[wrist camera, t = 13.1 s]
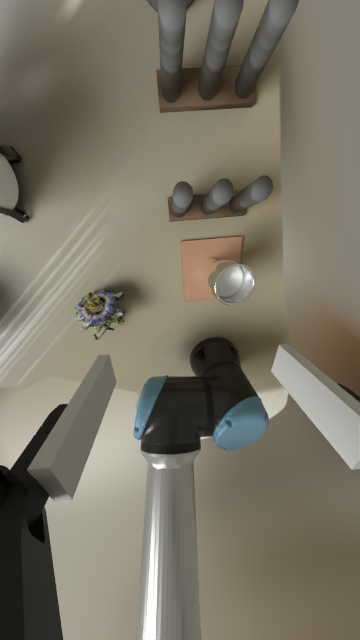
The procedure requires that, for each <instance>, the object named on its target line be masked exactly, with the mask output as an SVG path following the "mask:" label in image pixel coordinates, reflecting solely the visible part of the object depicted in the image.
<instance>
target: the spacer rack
mask: <svg viewBox="0 0 360 640" xmlns="http://www.w3.org/2000/svg"><path fill="white" fill-rule="evenodd" d="M243 1H244V0H215V2H214V7H213V12H212V17H211V23H210V28H209V33H208V38H207V43H206V49H205V54H204V59H203V64H202V68H182V59H183V47H184V35H185V22H186V10H187V0H158V17H159V42H160V67H161V70H157V83H158V94H159V105H160V113H161V112H178V111H195V110H212V109H229V108H247V107H252V106H253V104H254V103H255V92H256V82H257V80H258V79H259V77H260V75H261V73H262V71H263V69H264V68H265V66H266V64H267V62H268V60H269V58H270V57H271V55H272V53H273V51H274V49H275V47H276V46H277V44H278V42H279V40H280V38H281V36H282V35H283V33H284V31H285V29H286V27H287V25H288V23H289V22H290V20H291V18H292V16H293V14H294V12H295V10H296V8H297V5H298V1H299V0H269V1H268V3H267V6H266V8H265V11H264V13H263V16H262V18H261V20H260V23H259V25H258V28H257V30H256V32H255V35H254V37H253V40H252V42H251V45H250V47H249V49H248V52H247V54H246V57H245V59H244V62H243V64H242V66H224V65H225V62H226V59H227V56H228V52H229V49H230V46H231V43H232V40H233V37H234V33H235V30H236V27H237V24H238V21H239V18H240V14H241V11H242V8H243ZM272 188H273V183H272V180H271V178H270V177H268V176H261V177H259V178H258V179H257V180H255V181H254V182H253V183H251V184H250V185H249V186H247V187H246V188H244V189H243V190H242V191H240V192H233V185H232V183H231V182H230V181H229V180H228V179H220V180H219V181H218V182H217V183H216V184H215V185H214V187H213V188H212V189H211V190H210V192H209V193H208V194H206V195H193V190H192V187H191V186H190V185H189V184H188V183H187V182H183V181H182V182H179V183H177V184H176V186H175V187H174V190H173V196H172V197H168V206H169V217H170V222H171V221H184V220H196V219H209V218H221V217H234V216H244V215H245V209H246V208H248V207H250V206H253V205H255V204H257V203H259V202H261V201H263V200H265V199H267V198H268V197H269V196H270V194H271V192H272Z"/></svg>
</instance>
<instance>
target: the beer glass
mask: <svg viewBox="0 0 360 640" xmlns="http://www.w3.org/2000/svg"><path fill="white" fill-rule="evenodd" d="M199 275H200V278H201V280H202V281H203V282H204V283H206V285H207V288H208V290H209V291H210V292H211V294H212V295H213V296H214V297H216V298H217V299H218V300H220V301H221V302H222V303H224V304H227V305H237V304H240V303H242V302H244V301H245V300H246V299H248V298H249V296H250V295H251V294H252V292H253V290H254V287H255V275H254V273H253V271H252V270H251V269H250V268H249V267H248V266H246V265H243V264H241V263H239V262H236V261H233V260H218V259H215V258H211V259H207V260H206V261H204V262H203V263H202V265H201V267H200V270H199Z"/></svg>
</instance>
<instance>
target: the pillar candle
mask: <svg viewBox="0 0 360 640" xmlns="http://www.w3.org/2000/svg"><path fill="white" fill-rule="evenodd" d="M147 1H148V2H149V4H150V5H151V6H152V7H153V8H154V9H155V10H156V11H157V12H158V0H147ZM192 1H193V0H187V7H188V6H189V5H190V4H191V2H192Z"/></svg>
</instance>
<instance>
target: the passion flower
mask: <svg viewBox="0 0 360 640" xmlns="http://www.w3.org/2000/svg"><path fill="white" fill-rule="evenodd" d="M124 295H125V294H124V293H123V292H120V293H117V294H114V292H111V293H109V292H107V291H105V290H101V291H98V292H94V294H92V293H89V294H87V295H86V296H85V297H84V298H83V299H82V301H81V302H79V304H78V305H76V306H74V307H73V308H74V309H75V310H77V313H76V316H75V317H74V318H75V319H77V320H82V321H84V324H83V326H82V327H81V329H80V330H85V329H87V328H89V327H95V330H96V331H98V332H99V331H100V330H101V328H102V327H103V326H104V327H105V328H106V329H105V331H106V330H107V329H108V330H115V329H113V328H110V327H109V326H110V324H111V323H113V324H119V322H124V320H123V319H122V315H124V312H123V311H122V310H120V309H118V308H117V307H116V306H115V302H116V301H118V300H122V299H123V298H124ZM81 298H82V297H81ZM118 318H120V319H118ZM115 321H116V322H115ZM107 323H109V324H108V325H107ZM105 331H104V332H105ZM104 332H103V334H104ZM103 334H102V335H103ZM102 335H101V336H102ZM93 336H94V338H95V339H96V340H98V337H97V336H96V334H95V335H93ZM101 336H100V338H101ZM100 338H99V339H100Z"/></svg>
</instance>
